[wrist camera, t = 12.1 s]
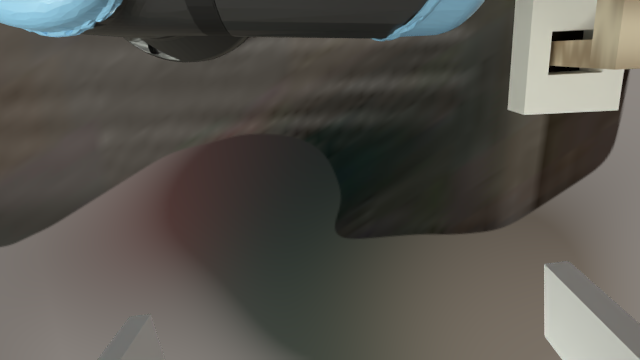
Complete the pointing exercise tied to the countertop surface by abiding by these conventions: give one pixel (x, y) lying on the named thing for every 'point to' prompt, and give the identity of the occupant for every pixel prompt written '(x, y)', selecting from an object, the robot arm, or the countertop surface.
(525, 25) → the white flat block
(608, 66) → the clip
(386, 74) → the countertop surface
